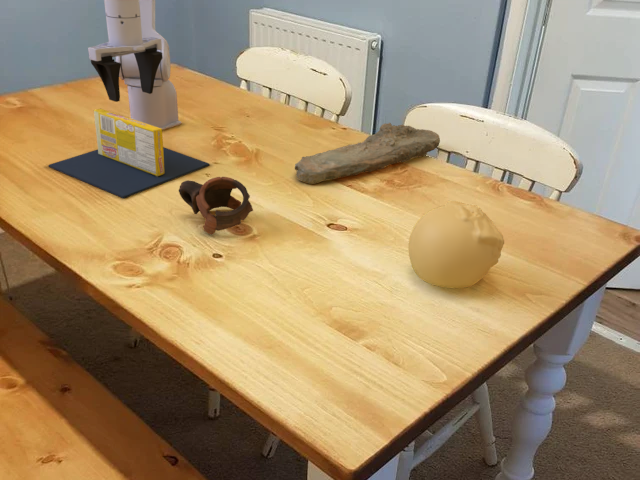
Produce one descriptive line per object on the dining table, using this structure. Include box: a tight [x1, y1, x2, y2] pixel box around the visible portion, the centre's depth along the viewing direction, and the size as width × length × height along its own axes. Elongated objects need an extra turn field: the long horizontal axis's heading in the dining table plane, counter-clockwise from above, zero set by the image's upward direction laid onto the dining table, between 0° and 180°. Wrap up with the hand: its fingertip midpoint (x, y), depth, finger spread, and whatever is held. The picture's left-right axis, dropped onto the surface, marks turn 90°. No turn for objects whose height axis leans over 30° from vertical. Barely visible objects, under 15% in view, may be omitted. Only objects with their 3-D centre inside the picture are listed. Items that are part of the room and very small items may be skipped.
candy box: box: [93, 108, 164, 177], centre depth 122 cm, size 16×2×8 cm, turn 53°
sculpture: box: [407, 200, 505, 289], centre depth 94 cm, size 12×12×11 cm
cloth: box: [48, 146, 210, 199], centre depth 124 cm, size 20×20×1 cm
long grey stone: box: [294, 122, 441, 185], centre depth 130 cm, size 35×5×10 cm
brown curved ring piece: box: [178, 176, 254, 236], centre depth 106 cm, size 12×10×8 cm
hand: (131, 96), depth 125 cm, fingers open, 7 cm apart
